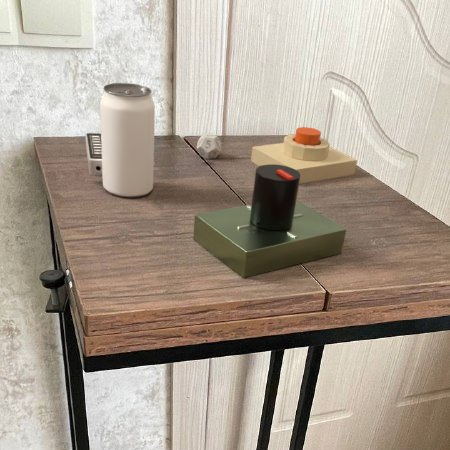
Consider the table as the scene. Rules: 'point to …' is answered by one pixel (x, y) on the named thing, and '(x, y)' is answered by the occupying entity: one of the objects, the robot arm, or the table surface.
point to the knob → (274, 197)
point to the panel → (267, 239)
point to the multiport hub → (94, 153)
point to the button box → (306, 159)
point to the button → (307, 136)
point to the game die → (209, 146)
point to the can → (127, 139)
